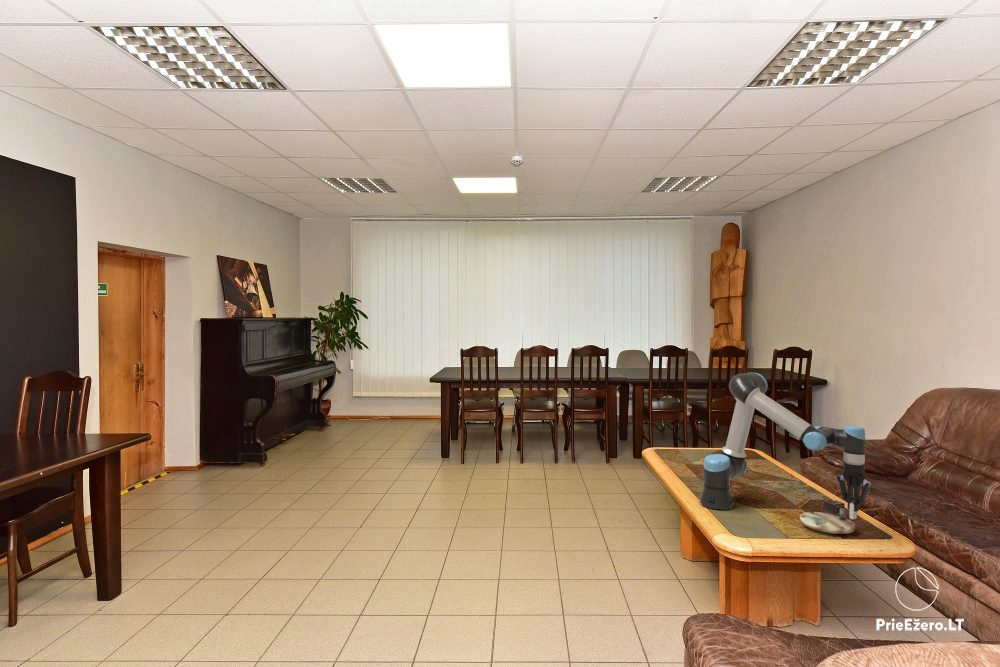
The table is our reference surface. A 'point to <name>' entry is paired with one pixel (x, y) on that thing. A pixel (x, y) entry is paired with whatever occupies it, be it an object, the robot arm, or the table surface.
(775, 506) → the table surface
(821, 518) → the turntable
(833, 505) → the box
